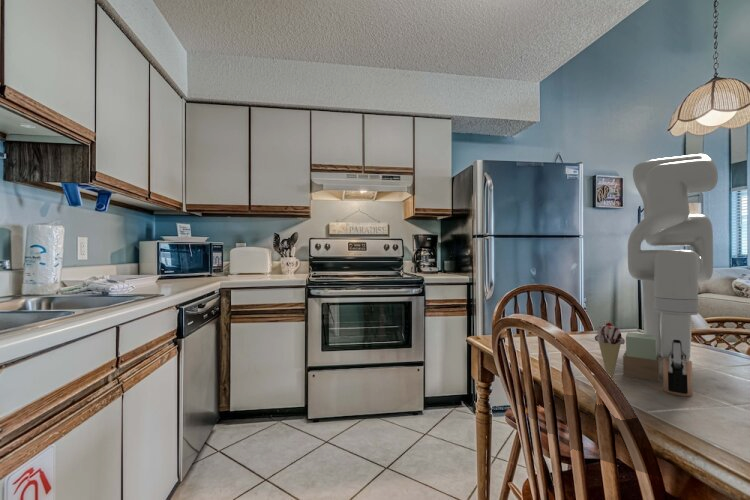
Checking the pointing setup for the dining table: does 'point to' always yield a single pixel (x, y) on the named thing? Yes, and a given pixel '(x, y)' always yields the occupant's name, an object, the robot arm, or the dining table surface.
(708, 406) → the dining table surface
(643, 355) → the pale green block
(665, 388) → the tan rounded capsule
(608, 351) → the ice cream cone
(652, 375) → the base block
